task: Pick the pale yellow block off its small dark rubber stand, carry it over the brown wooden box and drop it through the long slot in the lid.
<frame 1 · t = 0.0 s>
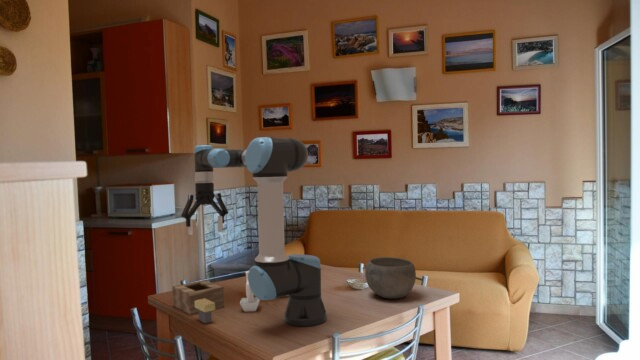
hand: (205, 232, 191), 28 cm above the table, fingers open, 13 cm apart
bowl: (390, 296, 190), on the table
pale yellow block: (204, 308, 164), point 4 cm above the table, touching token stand
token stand: (205, 321, 164), on the table
brown wooden box: (198, 306, 182), on the table
figurine: (250, 310, 176), on the table
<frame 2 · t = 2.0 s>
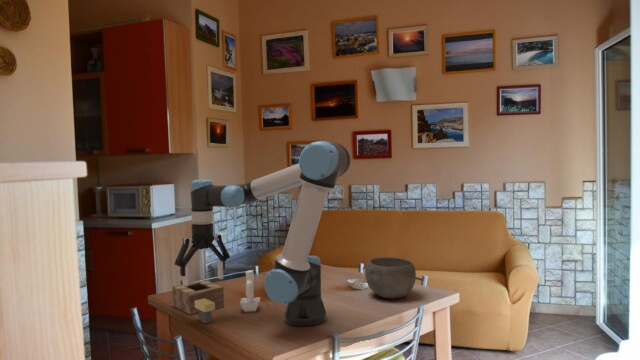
hand: (203, 281, 164), 14 cm above the table, fingers open, 13 cm apart
nothing on the table moved.
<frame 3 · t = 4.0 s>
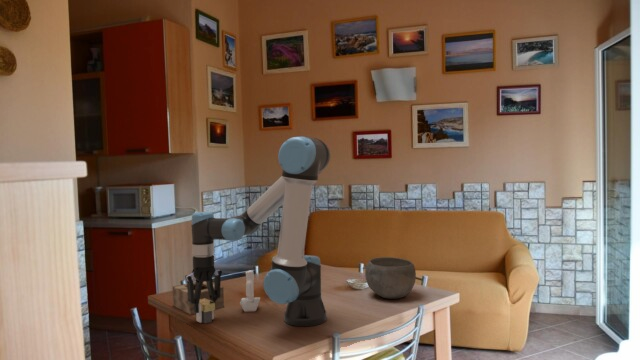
hand: (205, 319, 164), 0 cm above the table, fingers closed on pale yellow block, 4 cm apart
pale yellow block: (204, 308, 164), point 5 cm above the table, touching gripper
everything else where it was.
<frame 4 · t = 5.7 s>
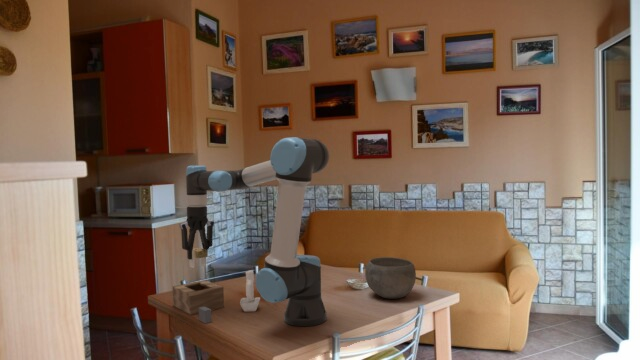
hand: (197, 266, 175), 17 cm above the table, fingers closed on pale yellow block, 4 cm apart
pale yellow block: (197, 256, 175), point 21 cm above the table, touching gripper
everything else where it was.
when the fingers open (9 cm above the table, at t = 7.5 s): pale yellow block drops 13 cm, resting on brown wooden box.
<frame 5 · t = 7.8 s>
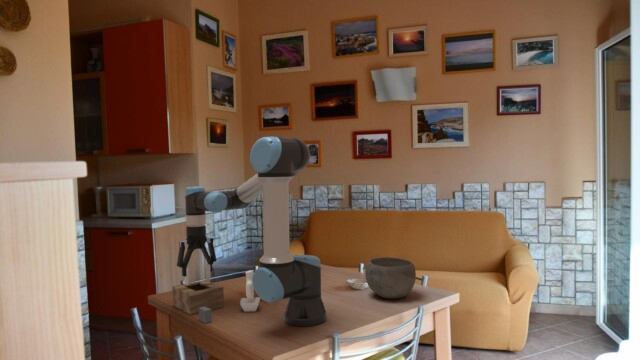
hand: (197, 282, 181), 10 cm above the table, fingers open, 8 cm apart
pale yellow block: (198, 305, 182), resting on brown wooden box
everything else where it was.
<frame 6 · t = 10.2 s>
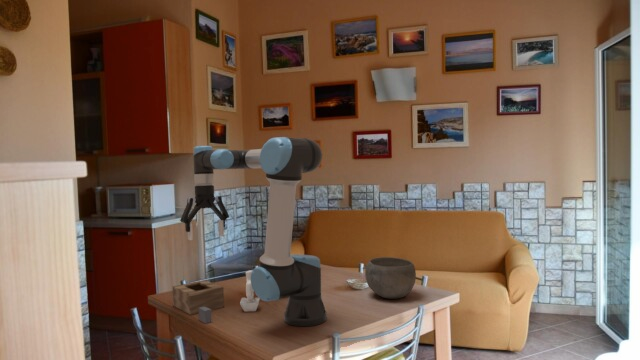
hand: (206, 238, 182), 27 cm above the table, fingers open, 13 cm apart
nothing on the table moved.
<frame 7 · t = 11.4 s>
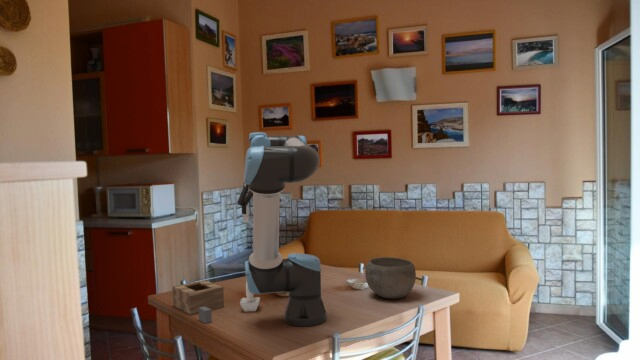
hand: (260, 220, 191), 33 cm above the table, fingers open, 13 cm apart
nothing on the table moved.
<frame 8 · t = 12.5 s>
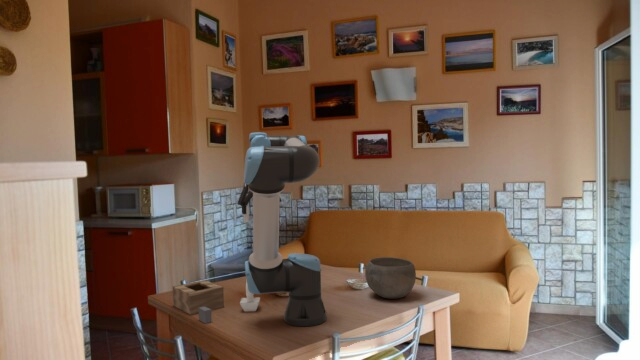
hand: (260, 220, 191), 33 cm above the table, fingers open, 13 cm apart
nothing on the table moved.
at the end: pale yellow block inside the target area on the brown wooden box (0.0 cm from its centre), point 0.4 cm above the brown wooden box's base; the gripper is holding nothing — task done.
